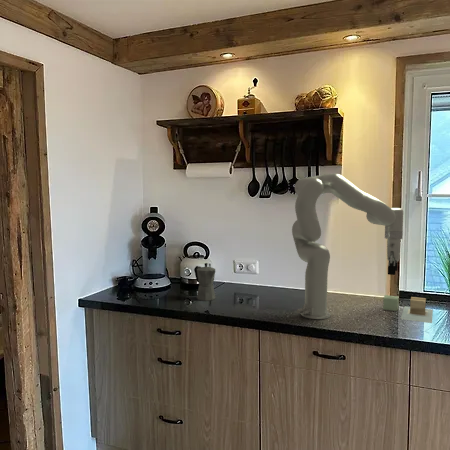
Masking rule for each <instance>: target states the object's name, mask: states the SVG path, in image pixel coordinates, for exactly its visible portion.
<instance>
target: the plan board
mask: <svg viewBox="0 0 450 450" xmlns="http://www.w3.org/2000/svg"><path fill="white" fill-rule="evenodd" d="M433 312H434V311H433V309H430V308H425V315H420V314H412V313H410V306H403V310H402V312H401V317H400V320H405V321H410V322H411V321H413V322H421V323H429V324H433V315H434V313H433Z"/></svg>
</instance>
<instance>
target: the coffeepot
mask: <svg viewBox="0 0 450 450" xmlns="http://www.w3.org/2000/svg"><path fill="white" fill-rule="evenodd" d="M193 271H194V275H195V279H196V280H195V281H196V282H197V283H198V284H199V285H198V289H197V294H196V299H197V300H198V301H204V302H207V301H213V300H215V299H216V293H215V289H214V285H213V284H214V281H215V275H216V274H215V273H216V272H217V271H216V268H214V267H211V266H208V262H205V263H204V266H199V265H195V267H194V269H193Z"/></svg>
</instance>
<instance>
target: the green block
mask: <svg viewBox="0 0 450 450" xmlns="http://www.w3.org/2000/svg"><path fill="white" fill-rule="evenodd" d="M382 299H383V300H382V301H383V303H382V304H383V305H382V306H383V307H382V310H385V311H394V312H398V310H399V300H400V297H399V296H398V295H388V294H385V295H384V296H383V298H382Z"/></svg>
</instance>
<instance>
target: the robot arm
mask: <svg viewBox="0 0 450 450" xmlns="http://www.w3.org/2000/svg"><path fill="white" fill-rule="evenodd" d="M294 191H295V193H296V194H297V197H296V199H295V205H294V211H295V216H296V220H295V221H294V222H293V224H292V227H291V233H292V234H291V235H292V238H293V241H294V242H293V243H294V246H295V249H296V252H297V253H296V254H297V255H298V257H299V259H300V260H302V261H303V262H305V263H306V268H305V272H304V273H305V274H304V304H303V305H302V307H301V308H297V309H296V313H297V314H300V315H301V316H302V317H303V318H306V319H311V320H325V319H326V320H327V319H329V318H330V317H331V312H330V311H328V309H327V307H328V276H329V275H328V272H329V264H330V261H331V260H330V259H331V253H330V251H329V249H328V248H327V247H326V246H325V245H324V244H321V243H319V242H317V241H319V239H320V238H321V235H322V229H321V225H320V221H319V218H318V213H317V209H316V203H317V201H318V199H319V197H320V196H321V195H322V194H323V195H324V194H332V195H334V196H335V197H337V199H339V200H340V201H342V202H343V203H345V204H346V205H347V206H349V207H351V208H352V209H354V210H357V211H361V212H364V213H365V214H366V219H367V221H368V222H369V223H371V224H373V225H379V226H384V239H386V240H387V241H386V245H387V246H386V253H387V254H386V257H387V258H386V259H387V261H388V264H387V275H388V276H389V275H391V276H395V275H396V273H397V271H398V262H399V261H400V259H401V240H403V233H404V232H403V231H404V229H403V228H404V227H403V226H404V209H403V208H401V207H390V206H388V205H387V204H386V203H385V202H383V201H382V200H380V199H378V198H377V197H375V196H373V195H371V194H370V193H367V192H365V191H363V190H361V188H359V187H357V186H356V185H355V184H354V183H353V182H351V181H350V180H349V179H347V178H346V177H345V176H343V175H342V174H340V173H326V174H322V175H321V174H320V175H315V176H309V177H308V176H307V177H302V178H300V179H298V180H297V181H296V182H295V185H294Z"/></svg>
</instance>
